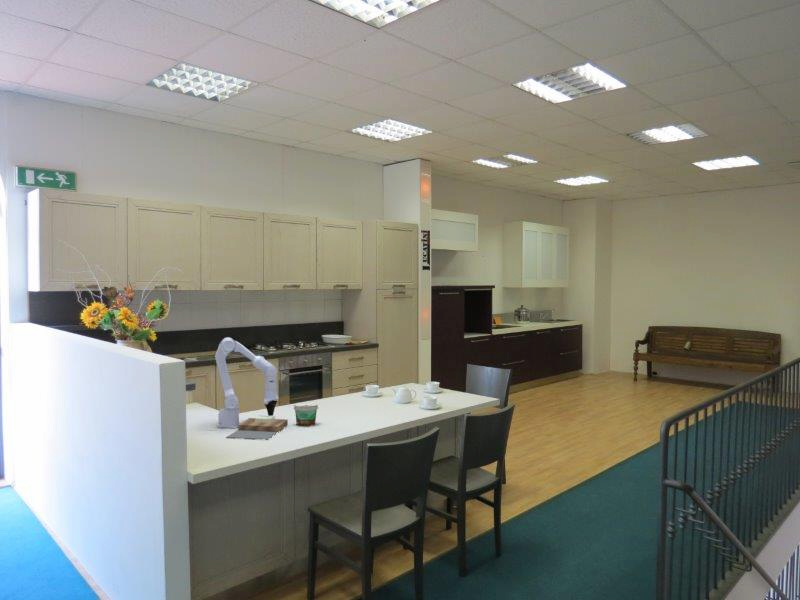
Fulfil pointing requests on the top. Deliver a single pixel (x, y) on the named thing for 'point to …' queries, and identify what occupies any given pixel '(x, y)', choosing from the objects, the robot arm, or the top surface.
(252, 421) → the board
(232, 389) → the robot arm
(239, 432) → the mat
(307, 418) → the food container
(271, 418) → the tile
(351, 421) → the top surface
